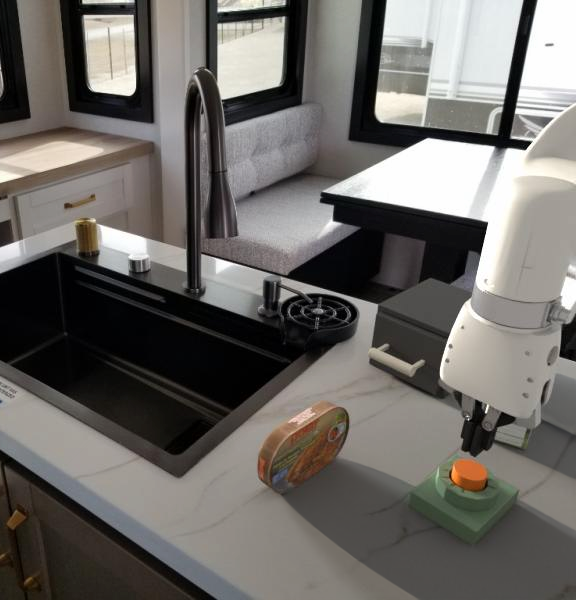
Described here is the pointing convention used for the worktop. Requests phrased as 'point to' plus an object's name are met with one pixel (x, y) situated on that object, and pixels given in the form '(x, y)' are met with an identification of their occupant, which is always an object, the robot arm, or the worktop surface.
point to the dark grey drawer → (407, 351)
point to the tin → (302, 446)
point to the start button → (469, 475)
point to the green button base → (462, 503)
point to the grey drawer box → (428, 309)
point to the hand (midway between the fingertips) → (474, 448)
